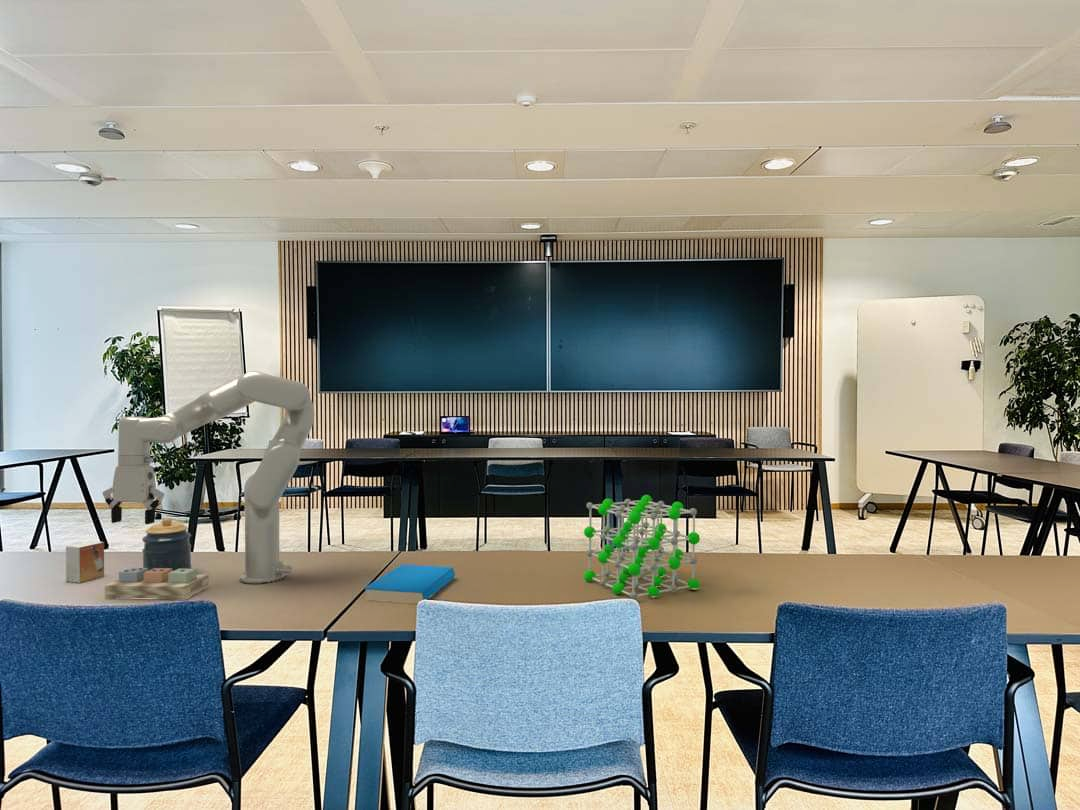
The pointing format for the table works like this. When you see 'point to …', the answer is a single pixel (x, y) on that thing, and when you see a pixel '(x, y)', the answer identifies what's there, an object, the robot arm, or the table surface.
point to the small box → (84, 561)
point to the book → (410, 583)
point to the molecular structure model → (640, 546)
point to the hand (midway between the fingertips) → (133, 522)
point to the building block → (132, 575)
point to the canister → (167, 546)
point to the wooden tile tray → (156, 589)
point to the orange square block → (157, 575)
